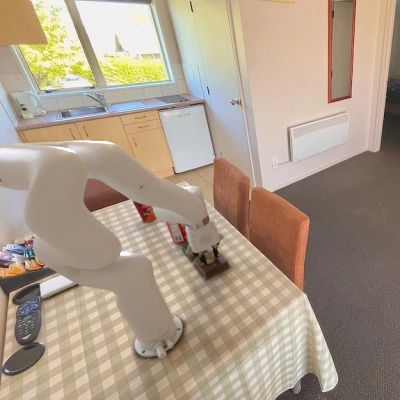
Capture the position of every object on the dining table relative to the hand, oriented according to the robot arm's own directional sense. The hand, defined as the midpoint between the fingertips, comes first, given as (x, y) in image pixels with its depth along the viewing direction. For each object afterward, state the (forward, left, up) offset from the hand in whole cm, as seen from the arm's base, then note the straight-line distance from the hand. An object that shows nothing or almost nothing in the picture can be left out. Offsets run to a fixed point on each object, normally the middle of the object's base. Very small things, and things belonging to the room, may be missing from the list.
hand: (209, 258), depth 102 cm
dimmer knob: (0, 0, -1) cm, 1 cm away
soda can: (+25, +2, -4) cm, 25 cm away
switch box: (+13, 0, -4) cm, 14 cm away
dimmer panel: (0, 0, -4) cm, 4 cm away
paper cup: (+54, +8, -4) cm, 55 cm away
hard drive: (+30, +49, -3) cm, 57 cm away
